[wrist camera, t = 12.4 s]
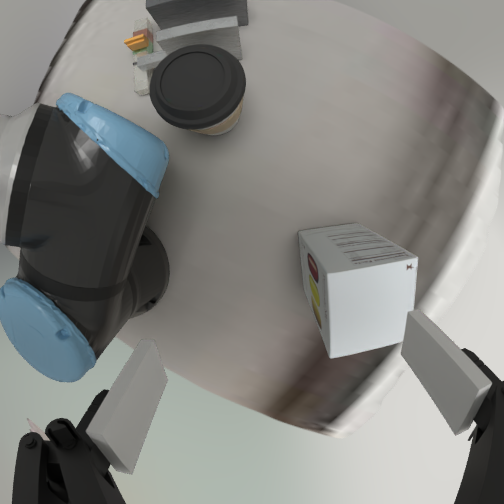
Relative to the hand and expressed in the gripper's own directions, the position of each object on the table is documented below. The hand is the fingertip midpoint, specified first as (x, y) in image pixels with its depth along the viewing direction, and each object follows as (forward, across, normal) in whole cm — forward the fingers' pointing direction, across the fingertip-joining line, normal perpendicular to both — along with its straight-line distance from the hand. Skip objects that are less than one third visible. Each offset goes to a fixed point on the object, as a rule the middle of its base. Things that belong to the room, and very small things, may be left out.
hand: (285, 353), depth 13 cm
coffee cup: (+27, -5, +18) cm, 33 cm away
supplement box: (+27, +9, -4) cm, 29 cm away
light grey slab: (+26, -7, +26) cm, 38 cm away
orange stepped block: (+24, -14, +30) cm, 41 cm away
